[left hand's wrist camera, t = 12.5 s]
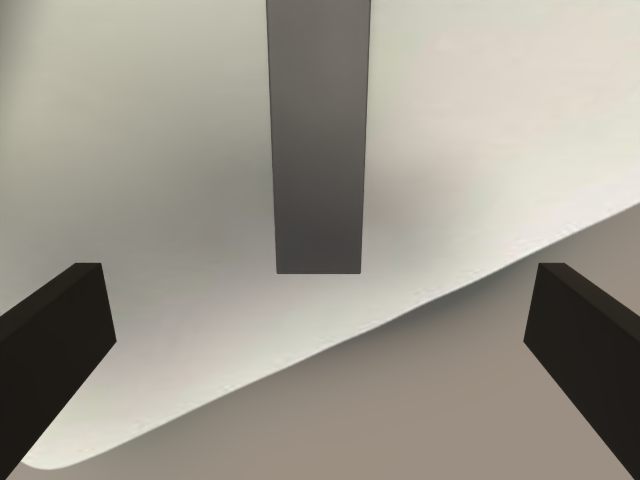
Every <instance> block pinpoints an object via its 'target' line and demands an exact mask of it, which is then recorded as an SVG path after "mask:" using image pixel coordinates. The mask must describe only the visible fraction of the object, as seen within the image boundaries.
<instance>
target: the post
mask: <svg viewBox="0 0 640 480" xmlns="http://www.w3.org/2000/svg"><path fill="white" fill-rule="evenodd" d="M266 12H267V37H268V63H269V89H270V115H271V140H272V166H273V192H274V217H275V243H276V269H277V274H360V273H361V251H362V225H363V198H364V171H365V145H366V118H367V92H368V65H369V38H370V12H371V0H266Z"/></svg>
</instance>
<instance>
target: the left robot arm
mask: <svg viewBox="0 0 640 480" xmlns="http://www.w3.org/2000/svg"><path fill="white" fill-rule="evenodd" d="M116 342H117V341H116V335H115V330H114V325H113V320H112V315H111V310H110V305H109V300H108V295H107V290H106V285H105V280H104V275H103V270H102V265H101V263H75V264H73V265H72V266H71V267H69V268H68V269H66V270H65V271H64V272H62V273H61V274H59V275H58V276H56V277H55V278H54V279H52V280H51V281H49V282H48V283H47V284H45V285H44V286H42V287H41V288H40V289H38V290H37V291H35V292H34V293H33V294H31V295H30V296H28V297H27V298H26V299H24V300H23V301H21V302H20V303H19V304H17V305H16V306H14V307H13V308H12V309H10V310H9V311H7V312H6V313H5V314H3V315H2V316H0V480H6V478H7V477H8V476H9V475H10V473H11V472H12V471H13V470H14V468H15V467H16V466H17V465H18V463H19V462H20V461H21V460H22V459H23V457H24V456H25V455H26V454H27V452H28V451H29V450H30V449H31V447H32V446H33V445H34V444H35V442H36V441H37V440H38V439H39V437H40V436H41V435H42V434H43V432H44V431H45V430H46V429H47V427H48V426H49V425H50V424H51V422H52V421H53V420H54V419H55V418H56V416H57V415H58V414H59V413H60V411H61V410H62V409H63V408H64V406H65V405H66V404H67V403H68V401H69V400H70V399H71V398H72V396H73V395H74V394H75V393H76V391H77V390H78V389H79V388H80V386H81V385H82V384H83V383H84V381H85V380H86V379H87V378H88V377H89V375H90V374H91V373H92V372H93V370H94V369H95V368H96V367H97V365H98V364H99V363H100V362H101V360H102V359H103V358H104V357H105V355H106V354H107V353H108V352H109V350H110V349H111V348H112V347H113V345H114V344H115V343H116ZM523 342H524V343H525V344H526V345H527V347H528V348H529V349H530V350H531V352H532V353H533V354H534V355H535V357H536V358H537V359H538V360H539V362H540V363H541V364H542V365H543V367H544V368H545V369H546V370H547V372H548V373H549V374H550V375H551V377H552V378H553V379H554V380H555V381H556V383H557V384H558V385H559V386H560V388H561V389H562V390H563V391H564V393H565V394H566V395H567V396H568V398H569V399H570V400H571V401H572V403H573V404H574V405H575V406H576V408H577V409H578V410H579V411H580V413H581V414H582V415H583V416H584V418H585V419H586V420H587V421H588V422H589V424H590V425H591V426H592V427H593V429H594V430H595V431H596V432H597V434H598V435H599V436H600V437H601V439H602V440H603V441H604V442H605V444H606V445H607V446H608V447H609V448H610V450H611V451H612V452H613V453H614V455H615V456H616V457H617V459H618V460H619V461H620V462H621V463H622V465H623V466H624V467H625V468H626V470H627V471H628V472H629V473H630V475H631V476H632V477H633V478H634V480H640V316H638V315H637V314H635V313H634V312H633V311H631V310H630V309H628V308H627V307H626V306H624V305H623V304H621V303H620V302H619V301H617V300H616V299H614V298H613V297H612V296H610V295H609V294H607V293H606V292H605V291H603V290H602V289H600V288H599V287H598V286H596V285H595V284H593V283H592V282H591V281H589V280H588V279H586V278H585V277H583V276H582V275H581V274H579V273H578V272H576V271H575V270H574V269H572V268H571V267H569V266H568V265H567V264H565V263H539V265H538V270H537V275H536V280H535V285H534V290H533V295H532V300H531V305H530V310H529V315H528V320H527V325H526V330H525V335H524V341H523Z"/></svg>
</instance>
